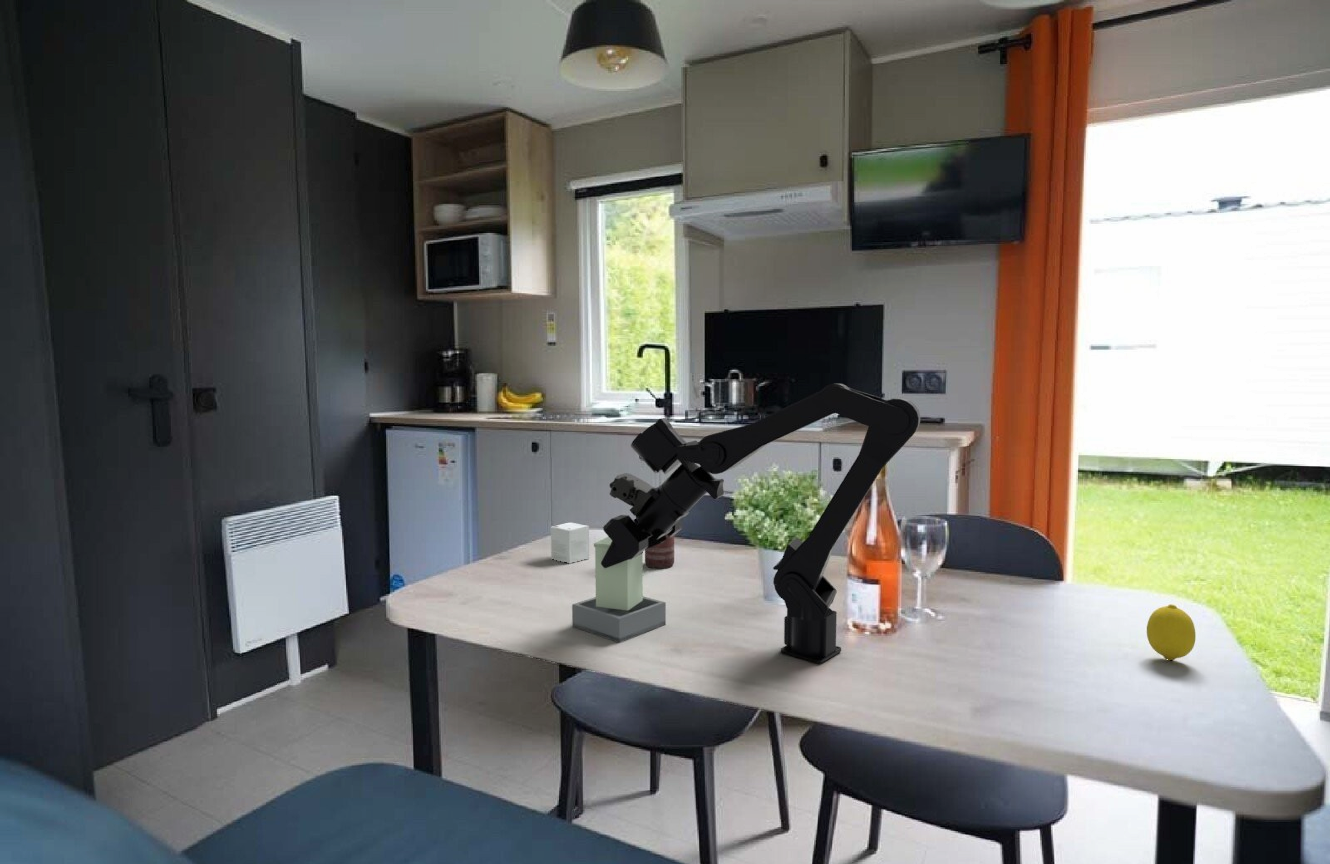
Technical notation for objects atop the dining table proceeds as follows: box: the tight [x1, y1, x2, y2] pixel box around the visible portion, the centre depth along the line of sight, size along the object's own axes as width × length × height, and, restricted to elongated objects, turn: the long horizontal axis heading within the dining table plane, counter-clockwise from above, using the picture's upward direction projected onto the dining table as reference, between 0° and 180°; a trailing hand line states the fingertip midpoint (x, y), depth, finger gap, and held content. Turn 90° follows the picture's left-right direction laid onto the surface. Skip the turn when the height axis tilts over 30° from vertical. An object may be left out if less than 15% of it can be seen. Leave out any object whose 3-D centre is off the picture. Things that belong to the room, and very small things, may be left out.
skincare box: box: [550, 522, 591, 564], centre depth 156 cm, size 6×6×7 cm
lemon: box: [1146, 603, 1196, 661], centre depth 100 cm, size 6×6×8 cm
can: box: [644, 534, 675, 570], centre depth 151 cm, size 6×6×14 cm
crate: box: [571, 595, 667, 644], centre depth 114 cm, size 10×10×4 cm
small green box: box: [593, 536, 644, 611], centre depth 114 cm, size 6×6×10 cm
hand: (611, 561), depth 114 cm, fingers closed on small green box, 5 cm apart
